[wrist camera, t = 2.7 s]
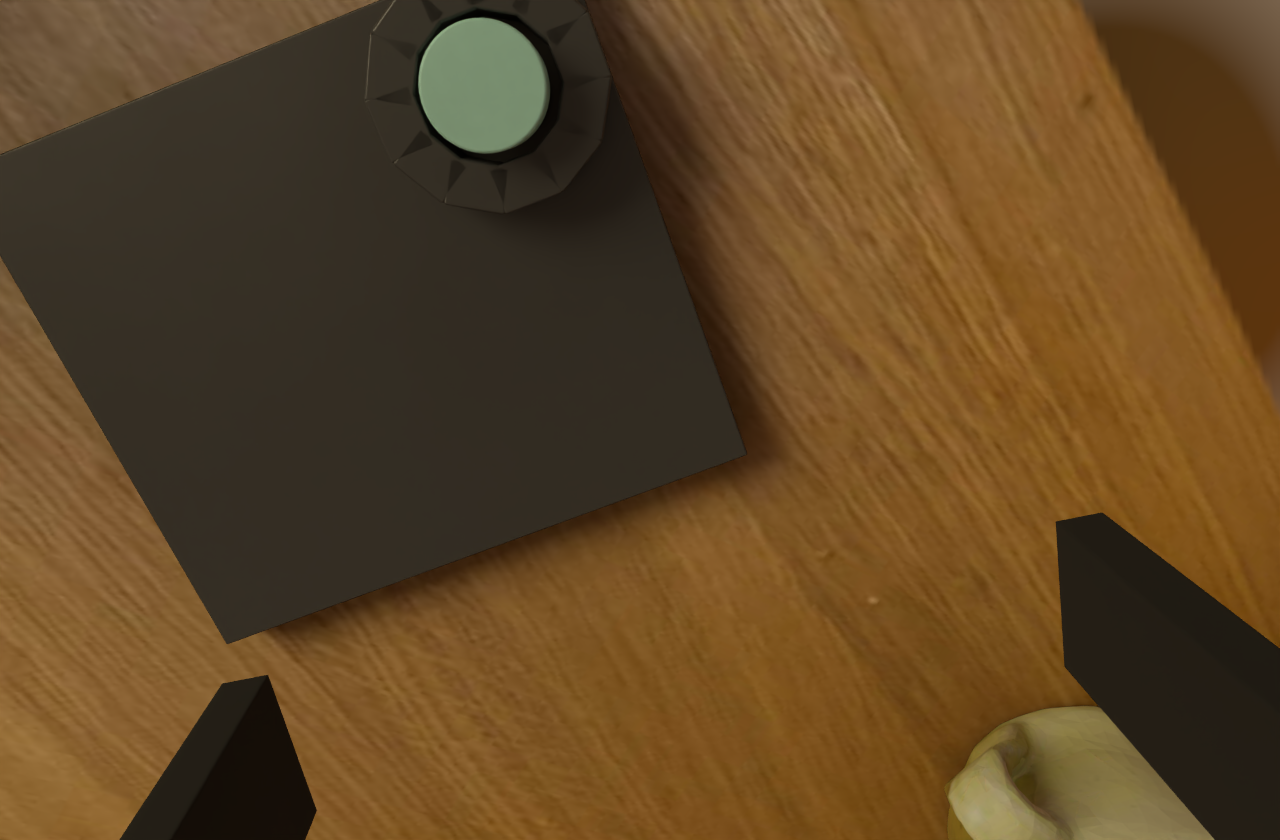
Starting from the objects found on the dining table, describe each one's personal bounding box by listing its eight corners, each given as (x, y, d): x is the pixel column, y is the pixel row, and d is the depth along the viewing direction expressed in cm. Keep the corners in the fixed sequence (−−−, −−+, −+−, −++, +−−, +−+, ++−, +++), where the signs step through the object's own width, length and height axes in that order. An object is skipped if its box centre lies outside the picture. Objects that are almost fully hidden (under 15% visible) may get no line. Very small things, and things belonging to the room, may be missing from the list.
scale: (560, -63, 25) (556, -87, 22) (740, 439, 29) (757, 474, 27) (-16, 170, 26) (-92, 177, 23) (242, 622, 30) (206, 673, 28)
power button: (522, 4, 23) (518, -3, 22) (568, 126, 24) (566, 126, 22) (409, 50, 23) (396, 46, 22) (458, 169, 24) (449, 172, 23)
